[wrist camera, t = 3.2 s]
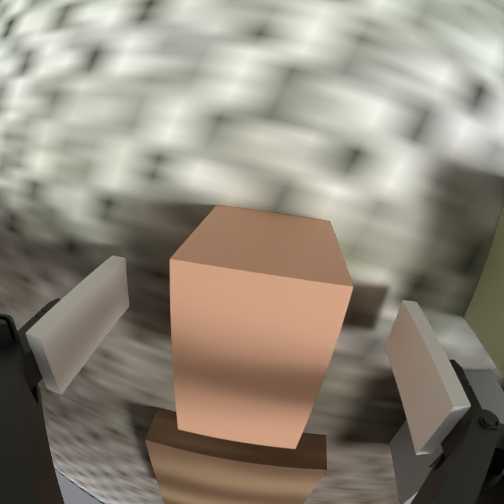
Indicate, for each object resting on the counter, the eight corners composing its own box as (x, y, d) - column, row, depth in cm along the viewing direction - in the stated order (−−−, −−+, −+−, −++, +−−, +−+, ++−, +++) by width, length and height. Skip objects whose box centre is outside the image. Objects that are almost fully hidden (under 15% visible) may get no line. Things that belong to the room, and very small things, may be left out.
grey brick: (440, 438, 19) (456, 496, 14) (389, 442, 19) (400, 506, 14) (490, 368, 16) (523, 431, 10) (436, 369, 16) (466, 443, 11)
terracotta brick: (297, 359, 17) (295, 449, 11) (208, 345, 17) (178, 429, 12) (329, 220, 14) (353, 286, 8) (217, 204, 14) (170, 258, 9)
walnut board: (287, 502, 25) (285, 525, 22) (172, 482, 26) (165, 505, 23) (325, 435, 19) (326, 469, 16) (158, 408, 20) (144, 439, 17)
